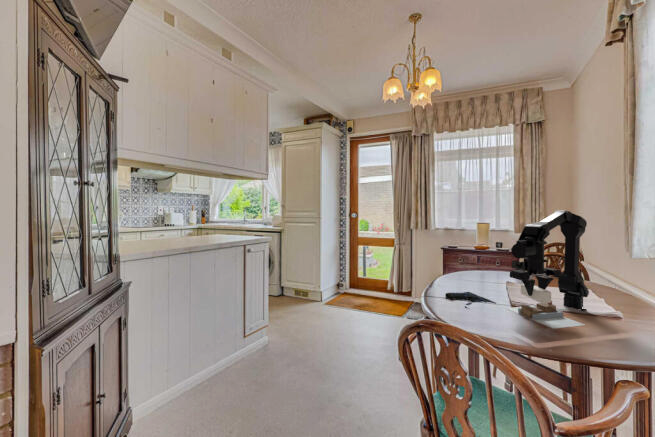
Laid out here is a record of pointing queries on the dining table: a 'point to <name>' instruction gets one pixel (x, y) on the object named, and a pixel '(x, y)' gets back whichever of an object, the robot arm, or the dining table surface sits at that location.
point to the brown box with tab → (537, 309)
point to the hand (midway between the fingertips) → (535, 295)
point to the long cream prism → (537, 294)
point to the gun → (467, 297)
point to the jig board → (550, 318)
